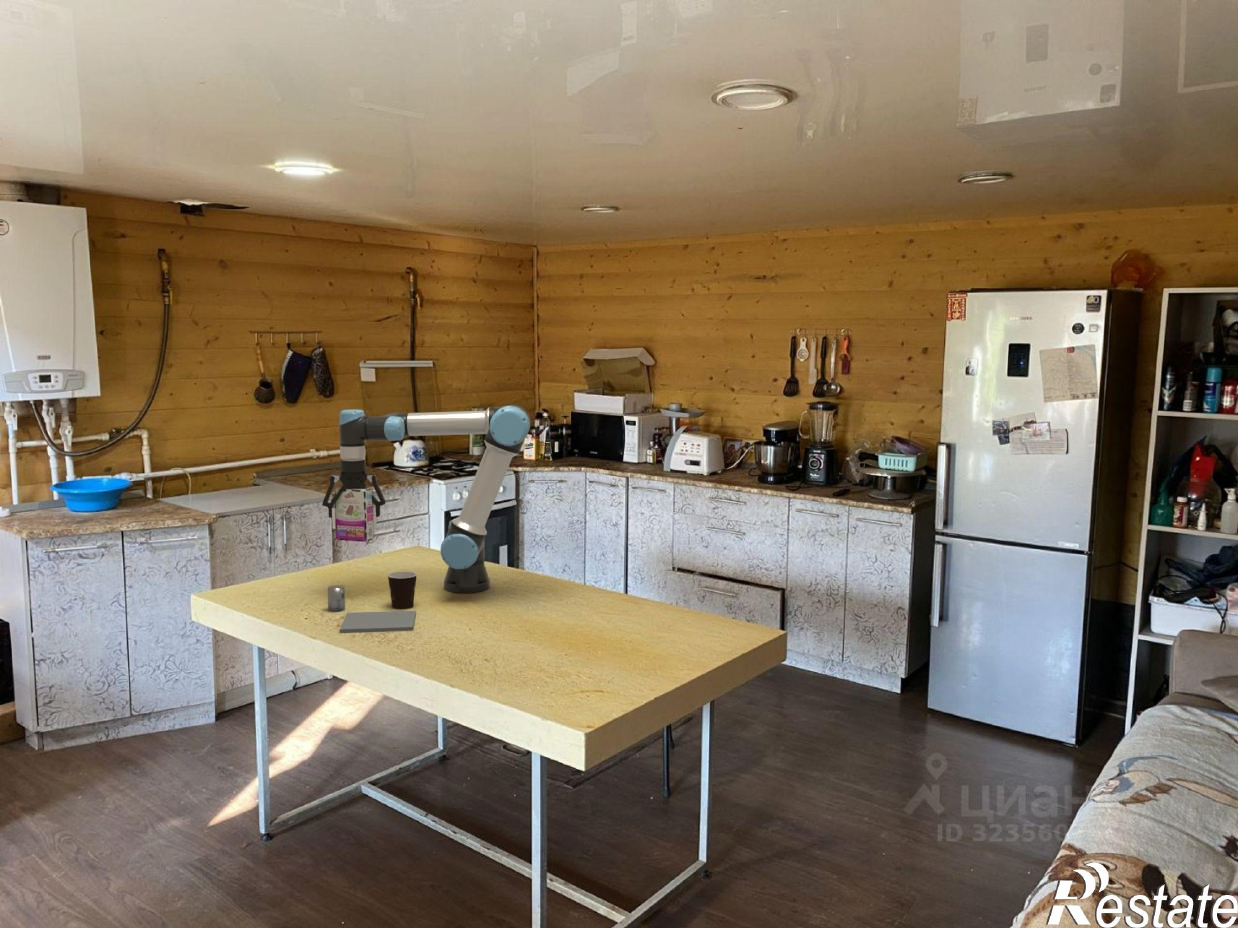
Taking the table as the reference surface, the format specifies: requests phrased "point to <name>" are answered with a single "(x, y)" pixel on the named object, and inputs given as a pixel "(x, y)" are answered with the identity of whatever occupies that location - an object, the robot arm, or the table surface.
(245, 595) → the table surface
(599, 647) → the table surface
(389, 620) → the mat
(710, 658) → the table surface
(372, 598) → the table surface
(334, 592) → the metal canister
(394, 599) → the coffee mug
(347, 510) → the candy bar box
